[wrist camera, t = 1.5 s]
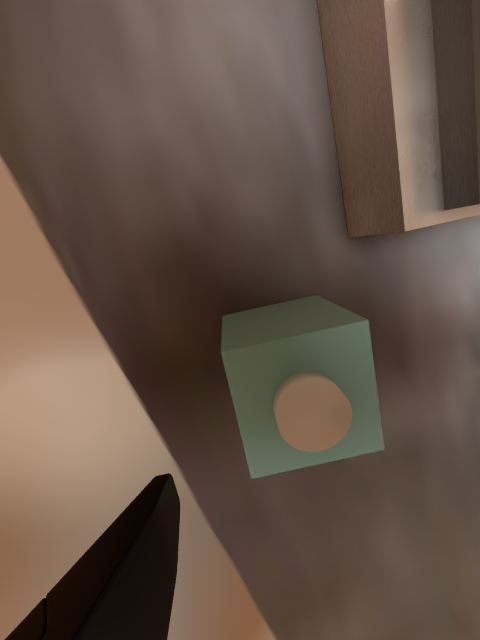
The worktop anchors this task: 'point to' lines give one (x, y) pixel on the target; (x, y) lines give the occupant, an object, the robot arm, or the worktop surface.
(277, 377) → the green block with knob
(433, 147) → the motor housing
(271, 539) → the worktop surface
